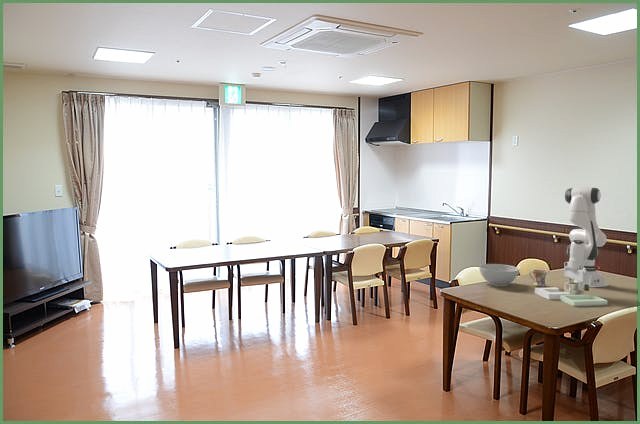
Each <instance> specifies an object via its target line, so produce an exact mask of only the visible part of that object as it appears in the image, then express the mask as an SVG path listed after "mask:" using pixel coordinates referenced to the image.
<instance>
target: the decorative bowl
mask: <svg viewBox="0 0 640 424" xmlns="http://www.w3.org/2000/svg"><path fill="white" fill-rule="evenodd" d="M478 268H479V269H478V270H479V273H480V274H481V276H482V278H483V279H484V280H485V281H486V282H487V283H488V284H489V285H490V286H492V285H493V287H499V286H500V288H501V287H502V288H503V287H508V285H509V284H510V283H512V282H514V281H515V279H516V278H517V277H518V275H519V273H520V268H519V267H517V266H514V265H509V264H501V263H500V264H499V263H483V264H479V267H478Z"/></svg>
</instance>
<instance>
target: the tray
mask: <svg viewBox="0 0 640 424" xmlns="http://www.w3.org/2000/svg"><path fill="white" fill-rule="evenodd" d="M559 301H561V302H563V303H566V304H568V305H570V306H572V307H594V306H595V307H596V306H597V307H599V306H608V300H607V299H604V298H602V297H599V296H597V295H594V294H584V295H561V296H560V299H559Z"/></svg>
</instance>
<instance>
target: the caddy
mask: <svg viewBox="0 0 640 424" xmlns="http://www.w3.org/2000/svg"><path fill="white" fill-rule="evenodd" d="M578 285H579V282H574V281H572V282H568V281H567V282H564V288H563V290H564V291H563V292H568V293H571V295H585V292H589V291H590V287H589V285H588V284H582V286H581V288H577V287H578Z"/></svg>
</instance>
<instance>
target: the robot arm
mask: <svg viewBox="0 0 640 424" xmlns="http://www.w3.org/2000/svg"><path fill="white" fill-rule="evenodd" d="M601 197H602V194H601V191H600V189H599V188H597V187H574V188H573V187H571V188H567V189H566V190H565V192H564V199H565V202H566V203H567V204H569V209H568V219H569V221H570V222H571V223H572V224H573V225H574V226H577V227H579V228H575V229H572V230H571V231H570V232H569V235H568V237H569V240H570V242H571V243H570V244H569V245H567V246H566V248H567V249H566V255H567V256H568V257H569V260H568V261H566V262H563V264H564V267H563V275H564V277H565V278H567V282H579V285H578V287H577V288H581V286H582V284H588V285H589V288H600V287H601V288H602V287H609V284H608V283H606V280H605V276H604V275H603V274H602V273H600V272H599V271H598V270H600V269H601V267H600V266H598V265H596V259H597V258H598V256H599V249H598V247H603V246H604V245H605V244H606V243H607V235H606V234H605V232H603V231H602V230H601V229H600V227H599V225H598V223H597V217H596V216H597V215H596V204H597V203H598V202H600V200H601ZM572 280H573V281H572Z"/></svg>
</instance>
